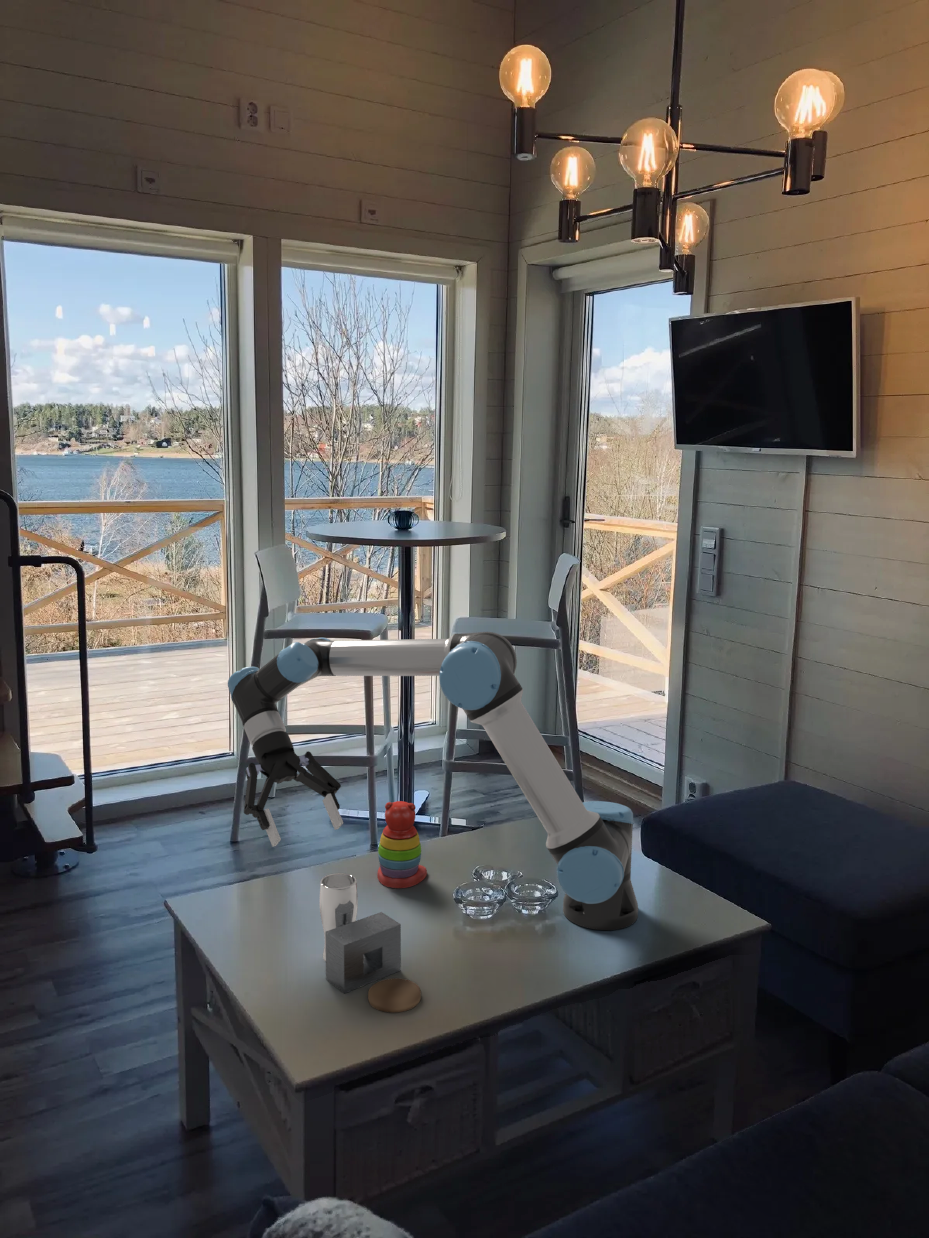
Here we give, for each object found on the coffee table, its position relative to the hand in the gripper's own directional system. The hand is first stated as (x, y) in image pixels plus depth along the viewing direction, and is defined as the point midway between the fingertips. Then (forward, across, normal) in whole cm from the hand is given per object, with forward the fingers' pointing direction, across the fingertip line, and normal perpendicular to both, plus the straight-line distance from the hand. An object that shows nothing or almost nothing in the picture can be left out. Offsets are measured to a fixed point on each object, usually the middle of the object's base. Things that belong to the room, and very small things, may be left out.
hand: (308, 834), depth 184 cm
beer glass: (+22, 0, -7) cm, 23 cm away
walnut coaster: (+34, 0, +6) cm, 35 cm away
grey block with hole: (+28, 0, -1) cm, 28 cm away
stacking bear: (+8, -28, -21) cm, 36 cm away
